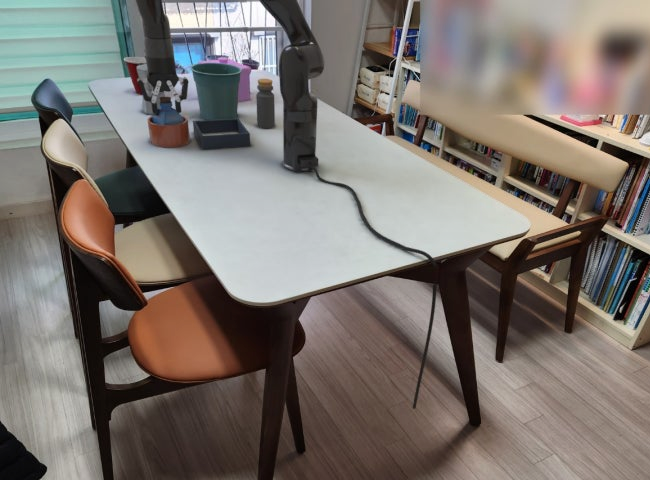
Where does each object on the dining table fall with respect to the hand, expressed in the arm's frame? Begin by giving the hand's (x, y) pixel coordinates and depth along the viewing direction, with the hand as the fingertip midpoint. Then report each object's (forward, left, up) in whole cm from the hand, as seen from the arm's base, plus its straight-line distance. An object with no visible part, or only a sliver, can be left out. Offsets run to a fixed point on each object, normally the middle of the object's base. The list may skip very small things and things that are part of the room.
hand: (167, 114), depth 155 cm
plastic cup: (+52, +2, -8) cm, 53 cm away
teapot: (+43, -25, -8) cm, 50 cm away
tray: (-2, -15, -8) cm, 17 cm away
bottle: (+8, -32, -8) cm, 34 cm away
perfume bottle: (0, 0, -7) cm, 7 cm away
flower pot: (+20, -19, -8) cm, 29 cm away
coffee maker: (+30, +1, -8) cm, 31 cm away
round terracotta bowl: (0, 0, -8) cm, 8 cm away
